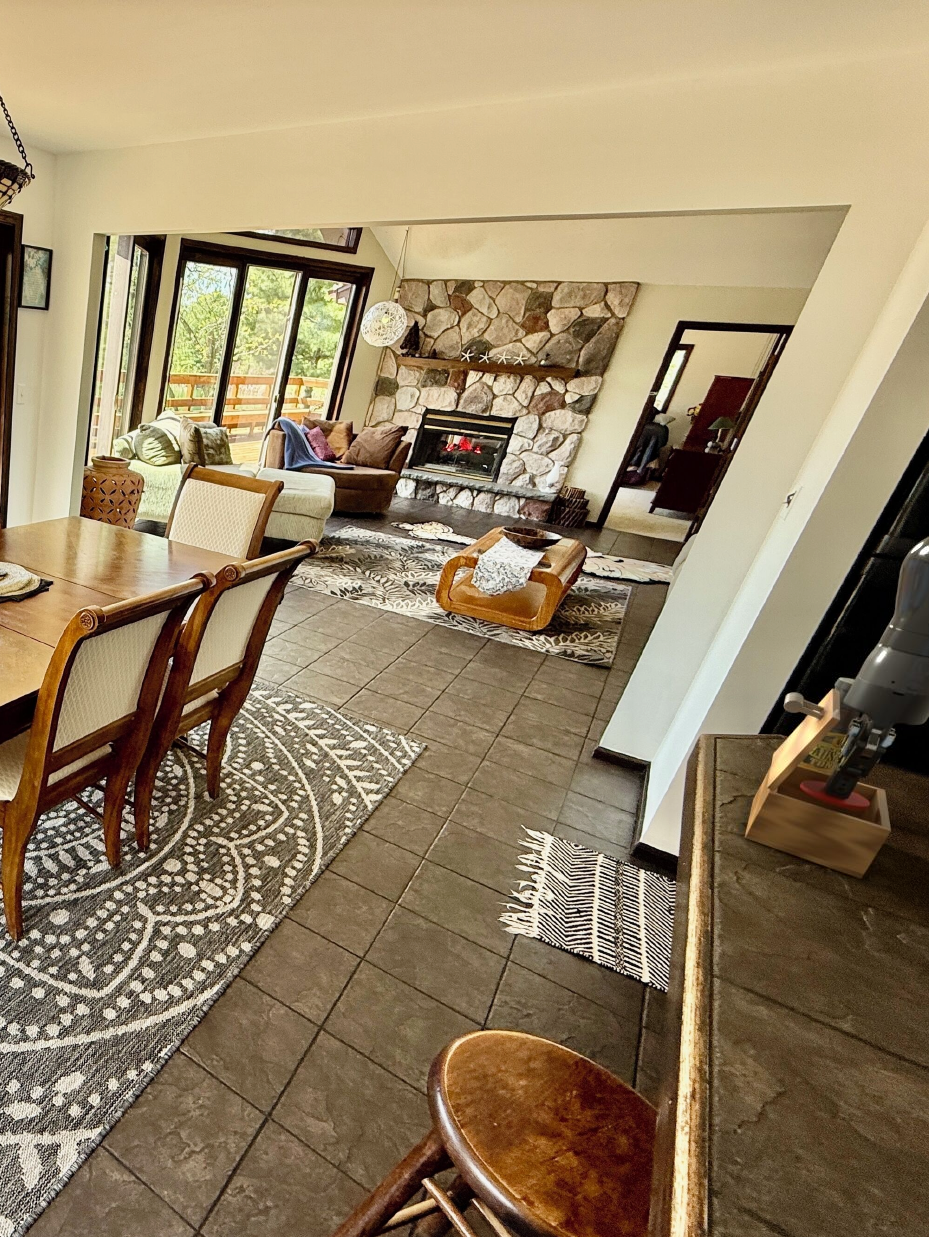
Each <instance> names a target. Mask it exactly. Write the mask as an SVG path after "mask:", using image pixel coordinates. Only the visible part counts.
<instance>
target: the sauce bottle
mask: <svg viewBox="0 0 929 1237" xmlns="http://www.w3.org/2000/svg"><path fill="white" fill-rule="evenodd" d="M854 681H855V678H849V677H839V678H838V679H837V681H835V683H834V689H835V690H838V691H839V695H840V721H839V722H838V723H837V724H836V725H835V726H834V727H833V728H832V729H831V731H830V732H829V733H828V734H827V735H826V736H825V737H824V738H823V739H822V740H821V741H820V742H819V743H818V744H817V746H816V747H815V748H814V749H813V750H812V751H811V752H810V753H809V754H808V755H807V756H806V757H805V758H804V759H803V760H802V762H801V763H800V764H799V765H800V766H804V767H807V768H811V769H814V770H818V771H821V772H825V773H828V774H832V772H833V770H834V768H835V767H836V765H837V760H836V759H837V757H839V756H840V755H839V753H840V752H839V750H840V749H841V743H842V741H843V739H844V738H845V736H846V734H847V733H848V726H849V724H850V723H851V721H852V719H856V718H857V717H858V718H860V715H861V713H858V712H856V711H853V710H851V709H849V708H848V707H846V706H845V704H844V702H843V701H844V699H845V697H846V695H847V693H848V692H849V690H850V688H851V686H852V684H853V683H854ZM807 716H808V715H807V714H806V716H805V718H804V720H805V719H806V717H807ZM838 764H840V763H838Z"/></svg>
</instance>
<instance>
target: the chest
mask: <svg viewBox="0 0 929 1237" xmlns="http://www.w3.org/2000/svg"><path fill="white" fill-rule="evenodd" d="M770 770H771V766H770V767H769V768H768V771H767V772H766V775H765V777H764V778H763V781H762V782H761V785H760V786H759V788H758V790H757V791H756V794H755V796H754V797H753V800H752V803H751V808H750V813H749V817H748V821H747V824H746V825H747V826H746V830H745V834H744V838H745V839H746V840H749V841H752V842H755V843H759V844H762V845H764V846H767V847H770V848H773V849H775V850H778V851H780V852H783V853H787V854H790V855H792V856H795V857H798V858H800V859H804V860H806V861H809V862H811V863H812V862H813V863H815V864H817V865H819V866H822V867H826V868H829V869H831V870H834V871H837V872H839V873H843V874H846V875H848V876H851V877H855V878H857V879H861V880H862V879H863V877H864V875H865V874H866V872H867V870H868V869H869V867H870V865H871V864H872V863H873V861H874V859H875V858H876V856H877V854H878V853H879V851H880V849H881V848H882V847H883V845H884V844H885V842H886V841H887V838H888V837H889V835H890V833H891V832H892V828H891V822H890V816H889V815H890V814H889V809H888V808H889V807H888V801H887V795H886V790H885V789H884V788H880V787H876V786H873V785H869V784H865V783H862V782H859V781H858V783H857V784H856V786H855V788H854V790H853V791H852V792H854V793H857V794H859V795H861V796H862V797H864V798H866V799H867V800H868V801H869V802H870V805H869V807H868V808H867V809H864V810H857V809H850V808H845V807H841V806H837V805H834V804H831V803H828V802H825V801H822V800H820V799H818V798H815V797H813V796H811V795H809V794H808V793H806V792H805V791H803V790H802V789H801V788H800V785H801V783H802V782H803V781H819V782H824V783H826V782H827V781H828V779H829V777H830V775H831V774H828V773H825V772H821V771H818V770H814V769H811V768H807V767H804V766H800V765H798V766H797V767H796V768H795V769H794V770H793V771H792V772H791V773H790V774H789V775H788V777H787V778H786V779H785V780H784V781H783V782H782V783H781V784H780V785H779V786H778V787H777V788H776V789H775V790H774V791H773V790H770V789H768V788H767V785H768V780H769V775H770Z"/></svg>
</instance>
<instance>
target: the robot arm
mask: <svg viewBox="0 0 929 1237" xmlns="http://www.w3.org/2000/svg"><path fill="white" fill-rule="evenodd" d="M894 608H895V609H894V614H893V617H892V618H891V620H890V622H889V623H888V625H887V626H886V629H885V630H884V632H883V634H882V635H881V637H880V640H879V641H878V643H877V644H876V646H875V647H874V649H872V651H871V652H870V654H869V655H868V656H867V658H866V659H865V661H864V662H863V664H862V666H861V668H860V670H859V671H858V673H857V676H856V677H855V678H854V680H855V681H854V683H853V684H852V686H851V688H850V690H849V692H848V693H847V695H846V697H845V699H844V701H843V702H844V704H845V706H846V707H848V708H849V709H851V710H853V711H856V712H858V713H860V714H862V716H861V717H859V718H858V717H857V718H856V719H852V721H851V723H850V724H849V726H848V733H847V734H846V736H845V738H844V739H843V741H842V743H841V749H840V750H839V752H840V753H839V755H840V756H839V757H837V759H836V760H837V765H838V766H837V765H836V766H837V771H836V773H835V775H834V777H833V778H832V780H831V782H830V784H829V785H828V787H827V789H826V793H827V794H828V795H830V796H834V797H837V798H840V799H848V798H849V796H850V795H851V793H852V791H853V790H854V788H855V786H856V784H857V783H858V782H859V781H860V779H866V778H867V777H869V776H870V773H871V771H872V770H873V768H875V766H876V764H879V761H880V760H881V758H882V756H883V755H885V754H886V752H887V751H888V750H887V748H888V747H889V746H891V745H892V744H893V742H894V741H895V738H896V736H897V734H896V733H895V731H896V729H895V728H893V727H894V725H895V724H903V725H906V726H907V725H908V726H919V725H922V724H924V723H925V722H926V721H927V720H928V718H929V536H927V537H926V538H924V539H922V540H921V541H919V542H918V543H917V544H916V545H915V546H913V547H912V548H911V550H909V552H908V553H907V555H906V556H905V558H904V559H903V561H902V564H901V567H900V570H899V577H898V583H897V592H896V596H895V606H894ZM838 763H840V765H839V764H838ZM835 768H836V767H835ZM835 768H834V770H835ZM834 770H833V771H834ZM832 773H833V772H832ZM831 775H832V774H831ZM831 775H830V777H831ZM830 777H829V778H830ZM828 780H829V779H828ZM827 782H828V781H827ZM827 782H826V784H827Z"/></svg>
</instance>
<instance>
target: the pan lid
mask: <svg viewBox="0 0 929 1237" xmlns="http://www.w3.org/2000/svg"><path fill="white" fill-rule="evenodd" d="M839 765H840V764H839ZM837 766H838V765H837ZM837 766H836V768H835V770H834V771H833V773H832V775H831V777H830V778H829V780H828V782H827V784H826V783H824V782H819V781H803V782H802V783H801V785H800V788H801V789H802V790H803V791H805V792H806V793H808V794H809V795H811V796H813V797H815V798H818V799H820V800H822V801H825V802H828V803H831V804H834V805H837V806H841V807H845V808H850V809H857V810H864V809H867V808H868V807H869V805H870V802H869V801H868V800H867V799H866V798H864V797H862V796H861V795H859V794H857V793H854V792H852V793H851V795H850V796H849V798H848V799H840V798H837V797H834V796H830V795H828V794H827V793H826V789H827V787H828V785H829V784H830V782H831V780H832V778H833V777H834V775H835V773H836V771H837Z"/></svg>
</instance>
